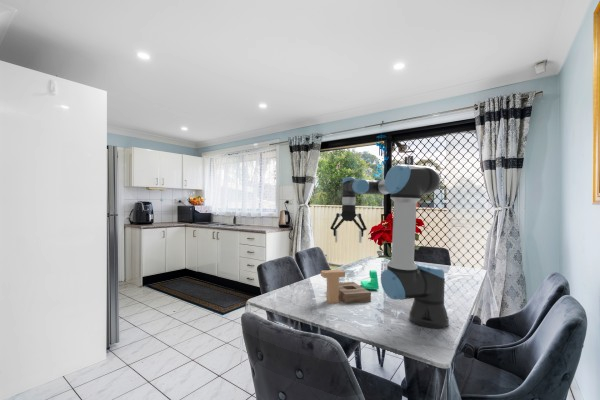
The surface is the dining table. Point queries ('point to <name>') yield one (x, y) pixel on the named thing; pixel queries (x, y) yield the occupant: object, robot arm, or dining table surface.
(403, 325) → the dining table surface
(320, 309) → the dining table surface
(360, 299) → the well block
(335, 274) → the wooden t-shaped post
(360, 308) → the dining table surface
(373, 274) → the camera mount
